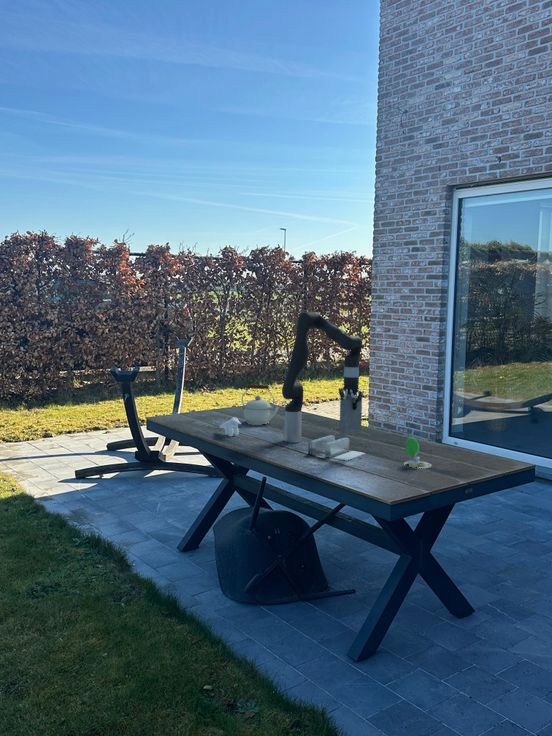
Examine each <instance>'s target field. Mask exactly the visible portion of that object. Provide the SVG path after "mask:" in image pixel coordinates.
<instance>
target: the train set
mask: <svg viewBox="0 0 552 736" xmlns="http://www.w3.org/2000/svg"><path fill="white" fill-rule="evenodd" d="M404 447H405V451H406V454H408V461H405V462H404V464H409V467H413V468H412V469H417V468H418V469H419V468H420V469H421V468H422V469H428V468H431V467H432V464H431V463H429V462H427V461H426V462H425V461H421V460H420V459H421V457H420V456H417V455H418V454H419V452H420V444H419V442H418V439H416V438H415V436H414V437H413V436H411V437H408V439H406V442H405V446H404ZM416 467H417V468H416Z"/></svg>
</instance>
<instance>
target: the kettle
mask: <svg viewBox="0 0 552 736" xmlns="http://www.w3.org/2000/svg"><path fill="white" fill-rule="evenodd" d="M249 389H255V390H256V389H257V390H259V389H260V390H267V392H268V394H269V395H270V396H271V398H272V401H273V403H272V405H271V404H270V402H269V401H267V400H264V399H262V397H261V396H260V395H256V396H255V397H254V399H250V400H248V401H247V402H246V403H244V401H243V399H244V396H245V394H246V393H247V392H248V390H249ZM241 402H242V409H243V418H244V420H246V424H247V423H248V425H250V424H251V425H250V426H263V425H262V424H266V425H268V424H270V421H271V420H272V418H273V417H274V416H275V415H276V414H277V412H278V411H279V408H280V407H279V406H276V407H275V408H273V407H274V405H275V397H274V395H273V394H272V393H271V392H270V385H268V384H267V385H263V384H246V391H245V392H244V393H243V394H242V396H241ZM267 423H268V424H267Z"/></svg>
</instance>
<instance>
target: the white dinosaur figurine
mask: <svg viewBox="0 0 552 736" xmlns="http://www.w3.org/2000/svg"><path fill="white" fill-rule="evenodd" d="M239 425H242V423H241V422H240V421H239V419H238V417H236V416H235V417H231V418H230V419H229V420H227V421H225V422H223V423H222V424H220V426H218V428H220V429H224V435H225V436H228V437H229V438H231V437H233V436H235V437H237V436H239V431H240V430H239Z"/></svg>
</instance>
